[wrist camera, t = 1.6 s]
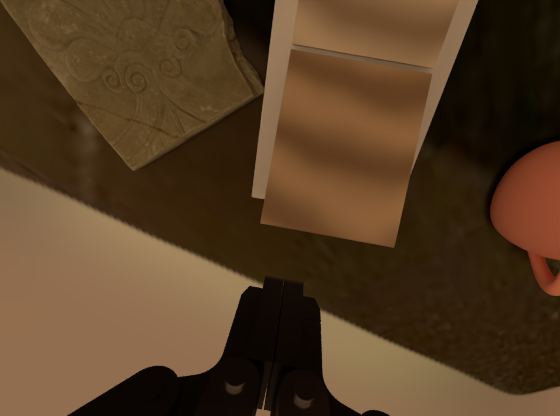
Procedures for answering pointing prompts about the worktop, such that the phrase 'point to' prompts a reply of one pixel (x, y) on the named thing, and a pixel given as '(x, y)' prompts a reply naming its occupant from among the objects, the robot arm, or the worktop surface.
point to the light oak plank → (376, 28)
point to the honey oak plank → (344, 147)
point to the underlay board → (283, 44)
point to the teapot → (532, 210)
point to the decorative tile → (142, 66)
